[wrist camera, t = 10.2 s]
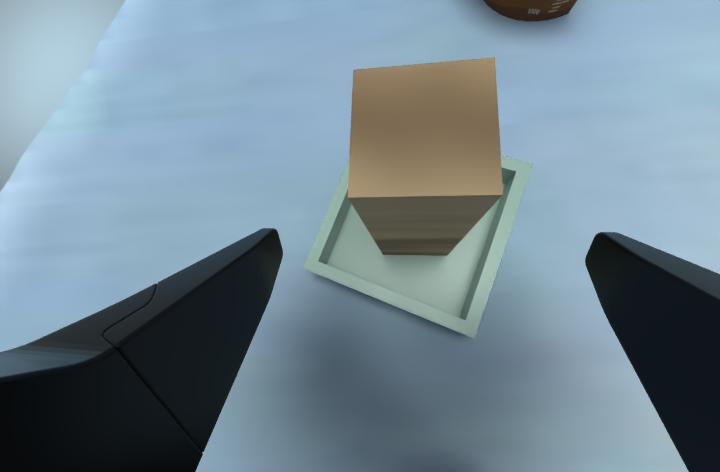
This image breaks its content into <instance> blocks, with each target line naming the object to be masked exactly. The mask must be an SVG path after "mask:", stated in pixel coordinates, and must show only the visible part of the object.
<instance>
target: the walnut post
mask: <svg viewBox="0 0 720 472" xmlns="http://www.w3.org/2000/svg"><path fill="white" fill-rule="evenodd" d="M502 195H503V186H502V169H501V153H500V136H499V119H498V102H497V86H496V69H495V58H484V59H472V60H461V61H449V62H438V63H426V64H415V65H403V66H392V67H380V68H369V69H357V70H353V89H352V112H351V134H350V157H349V179H348V199H349V200H350V202H351V204H352V205H353V207H354V209H355V210H356V212H357V213H358V215H359V217H360V218H361V220H362V222H363V223H364V225H365V226H366V228H367V230H368V231H369V233H370V235H371V236H372V238H373V239H374V241H375V243H376V244H377V246H378V247H379V249H380V251H381V252H382V254H383V255H432V256H447V255H448V254H449V253H450V252H451V251H452V250H453V249H454V248H455V247H456V246H457V244H458V243H459V242H460V241H461V240H462V239H463V238H464V237H465V236H466V235H467V234H468V232H469V231H470V230H471V229H472V228H473V227H474V226H475V225H476V224H477V223H478V222H479V220H480V219H481V218H482V217H483V216H484V215H485V214H486V213H487V212H488V211H489V210H490V208H491V207H492V206H493V205H494V204H495V203H496V202H497V201H498V200H499V199H500V198H501V196H502Z"/></svg>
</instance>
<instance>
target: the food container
mask: <svg viewBox="0 0 720 472" xmlns="http://www.w3.org/2000/svg"><path fill="white" fill-rule="evenodd" d="M484 1H485V2H486V4H487V5H488V6H489V7H491V8H492V9H493V10H494V11H496V12H498V13H499V14H501V15H503V16H506V17H508V18H512V19H516V20H522V21H542V20H549V19H553V18H557V17H560V16H562V15H565V14H568V13H569V11H570V10H571V8H572V7H573V6H574V4H575V3H576V1H577V0H484Z"/></svg>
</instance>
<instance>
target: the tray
mask: <svg viewBox="0 0 720 472" xmlns="http://www.w3.org/2000/svg"><path fill="white" fill-rule="evenodd" d="M532 165H533V164H532V163H528V162H524V161H521V160H517V159H513V158H510V157H506V156H502V155H501V169H502V186H503V195H502V196H501V198H500V199H499V200H498V201H497V202H496V203H495V204H494V205H493V206H492V207H491V208H490V210H489V211H488V212H487V213H486V214H485V215H484V216H483V217H482V218H481V219H480V220H479V222H478V223H477V224H476V225H475V226H474V227H473V228H472V229H471V230H470V231H469V232H468V234H467V235H466V236H465V237H464V238H463V239H462V240H461V241H460V242H459V243H458V244H457V246H456V247H455V248H454V249H453V250H452V251H451V252H450V253H449V254H448V255H447V256H432V255H383V254H382V252H381V251H380V249H379V247H378V246H377V244H376V243H375V241H374V239H373V238H372V236H371V235H370V233H369V231H368V230H367V228H366V226H365V225H364V223H363V222H362V220H361V218H360V217H359V215H358V213H357V212H356V210H355V209H354V207H353V205H352V204H351V202H350V200H349V199H348V179H349V159H348V162H347V164H346V167H345V169H344V171H343V174H342V176H341V178H340V181H339V183H338V186H337V188H336V190H335V193H334V195H333V198H332V200H331V202H330V205H329V207H328V209H327V212H326V214H325V217H324V219H323V221H322V224H321V226H320V228H319V231H318V233H317V236H316V238H315V240H314V243H313V245H312V247H311V250H310V252H309V255H308V257H307V259H306V262H305V264H304V266H303V268H304V269H306V270H309V271H311V272H313V273H316V274H318V275H321V276H323V277H326V278H328V279H330V280H333V281H335V282H338V283H340V284H343V285H345V286H347V287H350V288H352V289H355V290H357V291H360V292H362V293H364V294H367V295H369V296H372V297H374V298H377V299H379V300H381V301H384V302H386V303H389V304H391V305H394V306H396V307H398V308H401V309H403V310H406V311H408V312H411V313H413V314H415V315H418V316H420V317H423V318H425V319H428V320H430V321H432V322H435V323H437V324H440V325H442V326H445V327H447V328H449V329H452V330H454V331H457V332H459V333H462V334H464V335H466V336H469V337H471V338H474V339H475V337H476V334H477V331H478V328H479V325H480V322H481V319H482V316H483V313H484V310H485V307H486V304H487V301H488V298H489V295H490V292H491V289H492V286H493V283H494V280H495V277H496V273H497V270H498V267H499V264H500V261H501V258H502V255H503V252H504V249H505V246H506V243H507V240H508V237H509V234H510V231H511V228H512V225H513V222H514V219H515V216H516V213H517V210H518V207H519V204H520V201H521V198H522V195H523V192H524V189H525V186H526V183H527V180H528V177H529V174H530V171H531V168H532Z"/></svg>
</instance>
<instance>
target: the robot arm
mask: <svg viewBox="0 0 720 472" xmlns="http://www.w3.org/2000/svg"><path fill="white" fill-rule="evenodd" d="M282 256H283V250H282V246H281V242H280V239H279V235H278V232H277V230H276V229H273V228H263V229H261V230H259V231H257V232H255V233H253V234H251V235H249V236H247V237H245V238H243V239H241V240H239V241H237V242H235V243H233V244H231V245H230V246H228V247H226V248H224V249H222V250H220V251H218V252H216V253H214V254H212V255H210V256H208V257H206V258H204V259H202V260H200V261H199V262H197V263H195V264H193V265H191V266H189V267H187V268H185V269H183V270H181V271H179V272H177V273H175V274H173V275H171V276H169V277H168V278H166V279H164V280H162V281H160V282H158V284H154V285H152V286H150V287H148V288H146V289H144V290H142V291H140V292H138V293H136V294H134V295H132V296H130V297H128V298H126V299H124V300H122V301H120V302H118V303H116V304H114V305H112V306H109V307H107V308H105V309H103V310H101V311H99V312H97V313H95V314H92V315H90V316H88V317H86V318H84V319H81V320H79V321H77V322H75V323H73V324H70V325H68V326H66V327H64V328H62V329H60V330H57V331H55V332H53V333H51V334H49V335H46V336H44V337H42V338H40V339H38V340H35V341H33V342H31V343H28V344H26V345H23V346H20V347H17V348H14V349H11V350H7V351H3V352H0V472H195V471H196V469H197V466H198V464H199V462H200V460H201V457H202V455H203V453H202V452H204V450H205V447H206V445H207V443H208V440H209V438H210V436H211V434H212V431H213V429H214V427H215V424H216V422H217V420H218V417H219V415H220V413H221V410H222V408H223V406H224V403H225V401H226V399H227V397H228V394H229V392H230V390H231V387H232V385H233V383H234V380H235V378H236V376H237V373H238V371H239V369H240V366H241V364H242V362H243V360H244V357H245V355H246V353H247V350H248V348H249V346H250V343H251V341H252V339H253V336H254V334H255V332H256V330H257V327H258V325H259V323H260V320H261V318H262V316H263V313H264V311H265V309H266V306H267V304H268V302H269V299H270V296H271V293H272V290H273V287H274V284H275V280H276V277H277V274H278V270H279V267H280V264H281V260H282ZM585 263H586V267H587V270H588V272H589V275H590V278H591V280H592V283H593V285H594V288H595V290H596V293H597V296H598V298H599V301H600V303H601V306H602V308H603V311H604V313H605V315H606V317H607V319H608V321H609V323H610V325H611V327H612V329H613V331H614V332H615V334H616V336H617V338H618V340H619V342H620V344H621V346H622V347H623V349H624V351H625V353H626V355H627V357H628V359H629V361H630V362H631V364H632V366H633V368H634V370H635V372H636V374H637V376H638V377H639V379H640V381H641V383H642V385H643V387H644V389H645V390H646V392H647V394H648V396H649V398H650V400H651V402H652V404H653V405H654V407H655V409H656V411H657V413H658V415H659V417H660V419H661V420H662V422H663V424H664V426H665V428H666V430H667V432H668V434H669V435H670V437H671V439H672V441H673V443H674V445H675V447H676V449H677V450H678V452H679V454H680V456H681V458H682V460H683V462H684V464H685V465H686V467H687V469H688V471H689V472H720V274H718V273H715V272H713V271H710V270H708V269H706V268H703V267H701V266H698V265H696V264H693V263H691V262H688V261H686V260H683V259H681V258H678V257H676V256H674V255H671V254H669V253H666V252H664V251H661V250H659V249H656V248H654V247H651V246H649V245H646V244H644V243H642V242H639V241H637V240H634V239H632V238H629V237H627V236H624V235H622V234H619V233H615V232H600V233H598V234H596V236H595V237H594V239H593V242H592V244H591V246H590V249H589V251H588V253H587V256H586V260H585Z"/></svg>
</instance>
